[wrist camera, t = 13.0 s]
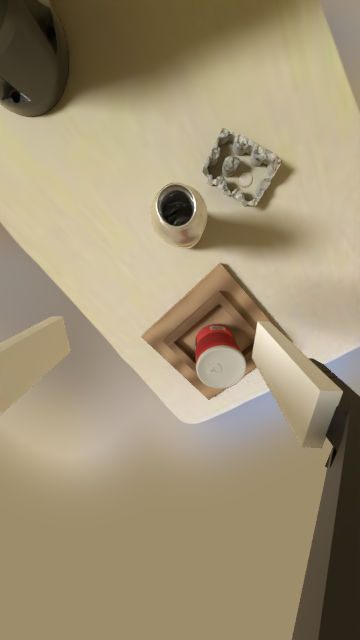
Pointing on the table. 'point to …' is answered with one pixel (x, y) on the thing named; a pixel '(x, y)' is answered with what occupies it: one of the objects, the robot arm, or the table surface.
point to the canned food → (218, 357)
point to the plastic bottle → (179, 215)
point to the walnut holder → (206, 324)
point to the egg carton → (232, 162)
